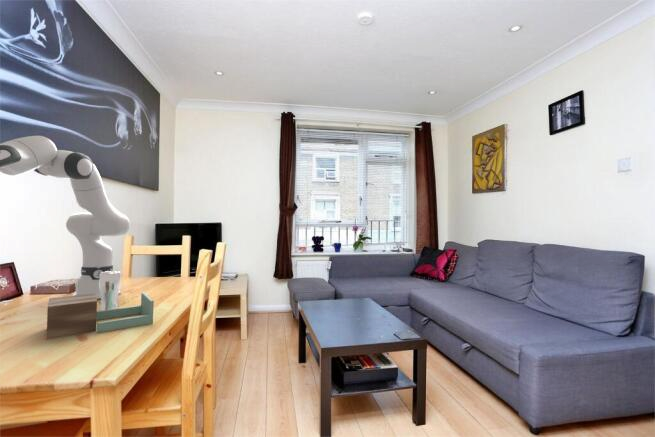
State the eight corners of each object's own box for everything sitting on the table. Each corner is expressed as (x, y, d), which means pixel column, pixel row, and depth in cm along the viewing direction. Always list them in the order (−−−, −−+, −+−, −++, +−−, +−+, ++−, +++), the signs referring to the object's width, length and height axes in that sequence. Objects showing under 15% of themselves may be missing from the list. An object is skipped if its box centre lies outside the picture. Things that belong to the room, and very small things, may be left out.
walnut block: (48, 328, 102) (49, 298, 102) (93, 321, 110) (94, 293, 110) (46, 340, 93) (47, 306, 93) (96, 331, 101) (97, 300, 101)
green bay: (92, 320, 111) (93, 297, 111) (143, 312, 122) (144, 292, 122) (96, 332, 99) (97, 307, 99) (152, 323, 110) (153, 300, 110)
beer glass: (108, 312, 120) (109, 274, 120) (93, 311, 122) (95, 273, 122) (123, 307, 127) (124, 271, 127) (109, 306, 128) (110, 270, 129)
